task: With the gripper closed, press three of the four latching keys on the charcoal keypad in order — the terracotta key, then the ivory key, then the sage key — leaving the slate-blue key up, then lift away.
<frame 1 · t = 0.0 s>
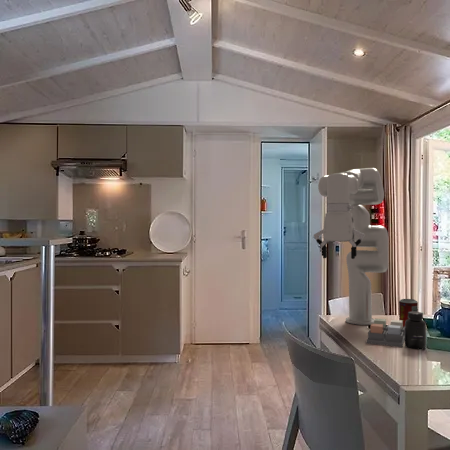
hand: (338, 258, 152), 31 cm above the table, tool pointing down, fingers open, 9 cm apart
terracotta key: (376, 328, 161), point 5 cm above the table, slide at 0.0 cm
keypad: (387, 338, 164), on the table
sage key: (380, 323, 170), point 5 cm above the table, slide at 0.0 cm
ivory key: (396, 324, 167), point 5 cm above the table, slide at 0.0 cm
slate key: (394, 330, 158), point 5 cm above the table, slide at 0.0 cm
supplement bottle: (415, 347, 152), on the table
soda can: (408, 330, 177), on the table
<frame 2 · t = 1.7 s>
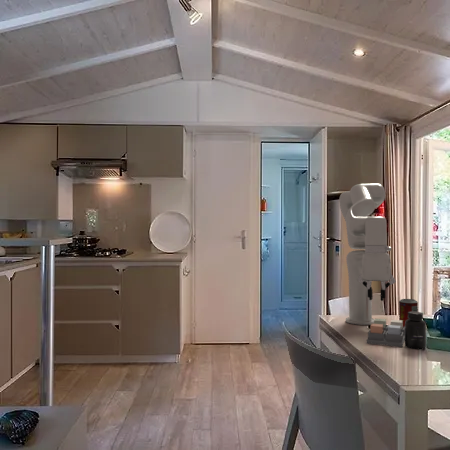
hand: (376, 299, 161), 15 cm above the table, tool pointing down, fingers open, 3 cm apart
nothing on the table moved.
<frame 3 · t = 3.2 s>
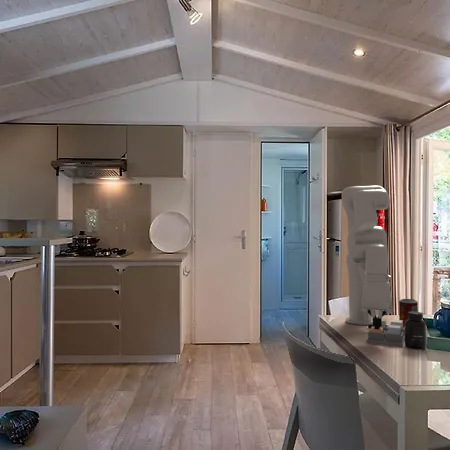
hand: (377, 328, 160), 5 cm above the table, tool pointing down, fingers closed
terracotta key: (377, 331, 161), point 3 cm above the table, slide at 1.2 cm, touching gripper
everything else where it was.
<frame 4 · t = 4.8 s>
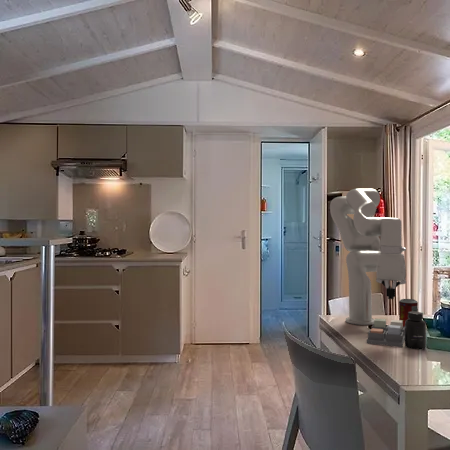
hand: (390, 298, 166), 15 cm above the table, tool pointing down, fingers closed
terracotta key: (377, 333, 161), point 3 cm above the table, slide at 1.8 cm
everything else where it was.
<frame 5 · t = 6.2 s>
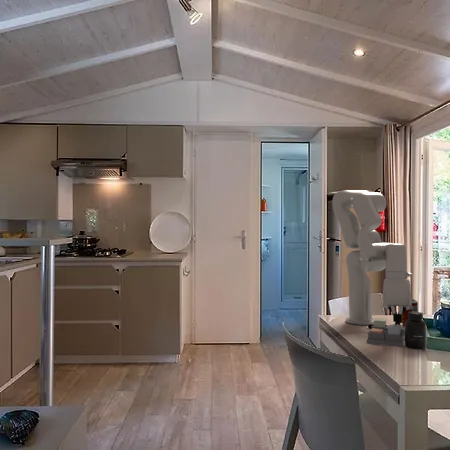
hand: (397, 324, 167), 5 cm above the table, tool pointing down, fingers closed
ivory key: (396, 327, 167), point 4 cm above the table, slide at 1.1 cm, touching gripper
everything else where it was.
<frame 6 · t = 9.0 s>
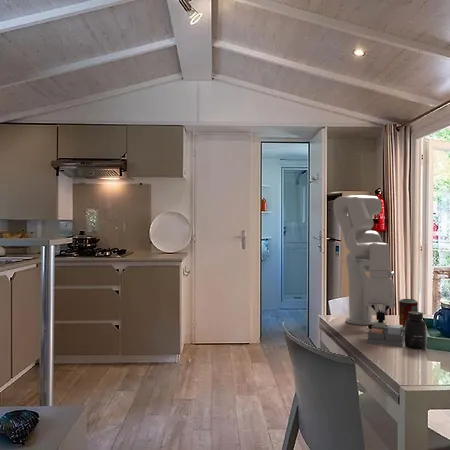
hand: (380, 322, 169), 5 cm above the table, tool pointing down, fingers closed
sage key: (380, 325, 170), point 4 cm above the table, slide at 0.8 cm, touching gripper
ivory key: (396, 329, 167), point 3 cm above the table, slide at 1.8 cm
everything else where it was.
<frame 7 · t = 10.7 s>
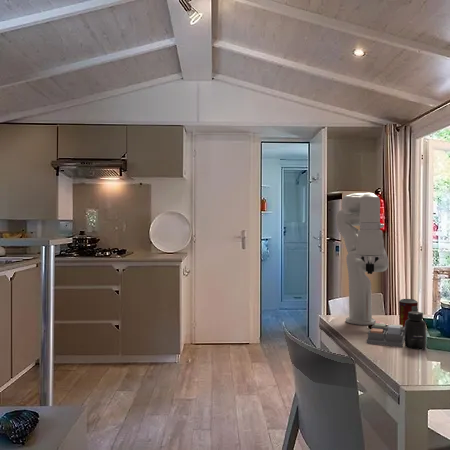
hand: (370, 273, 172), 24 cm above the table, tool pointing down, fingers closed
sage key: (380, 327, 170), point 3 cm above the table, slide at 1.8 cm
everything else where it was.
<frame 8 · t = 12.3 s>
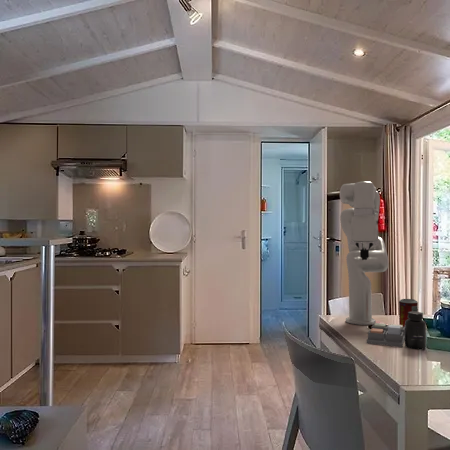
hand: (364, 259, 172), 29 cm above the table, tool pointing down, fingers closed
nothing on the table moved.
at the end: terracotta key slide at 1.8 cm; ivory key slide at 1.8 cm; sage key slide at 1.8 cm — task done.
